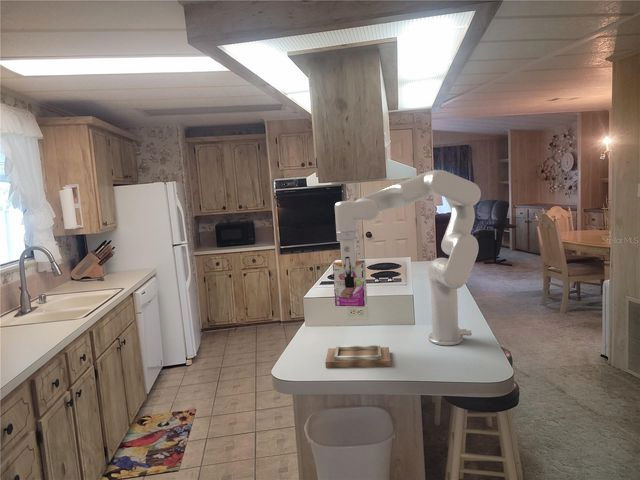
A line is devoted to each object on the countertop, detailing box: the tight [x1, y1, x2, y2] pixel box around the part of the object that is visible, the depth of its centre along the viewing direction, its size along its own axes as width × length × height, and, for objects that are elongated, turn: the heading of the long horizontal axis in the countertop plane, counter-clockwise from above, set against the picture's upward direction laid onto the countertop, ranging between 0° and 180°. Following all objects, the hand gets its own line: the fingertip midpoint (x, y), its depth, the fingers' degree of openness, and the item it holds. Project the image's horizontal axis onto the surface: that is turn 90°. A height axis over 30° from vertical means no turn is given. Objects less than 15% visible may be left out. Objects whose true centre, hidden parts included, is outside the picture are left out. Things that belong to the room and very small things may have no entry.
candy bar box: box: [332, 259, 368, 308], centre depth 156 cm, size 11×5×16 cm, turn 72°
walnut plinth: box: [324, 344, 392, 369], centre depth 152 cm, size 22×12×3 cm, turn 84°
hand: (350, 284), depth 156 cm, fingers closed on candy bar box, 5 cm apart
